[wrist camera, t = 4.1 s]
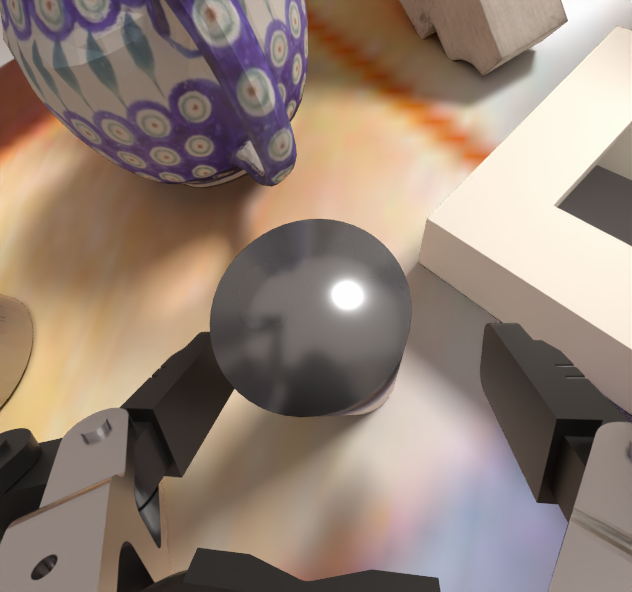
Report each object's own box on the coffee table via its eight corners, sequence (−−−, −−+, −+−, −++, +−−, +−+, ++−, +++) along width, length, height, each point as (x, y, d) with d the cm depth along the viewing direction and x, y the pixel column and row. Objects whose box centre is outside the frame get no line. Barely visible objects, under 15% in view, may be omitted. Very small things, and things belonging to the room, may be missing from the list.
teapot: (417, 177, 18) (508, -526, 5) (197, 320, 18) (-400, 24, 4) (242, 11, 28) (108, -363, 15) (100, 100, 28) (-171, -196, 14)
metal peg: (355, 434, 14) (298, 471, 5) (297, 371, 16) (175, 313, 7) (413, 370, 15) (460, 298, 5) (352, 315, 16) (308, 188, 7)
